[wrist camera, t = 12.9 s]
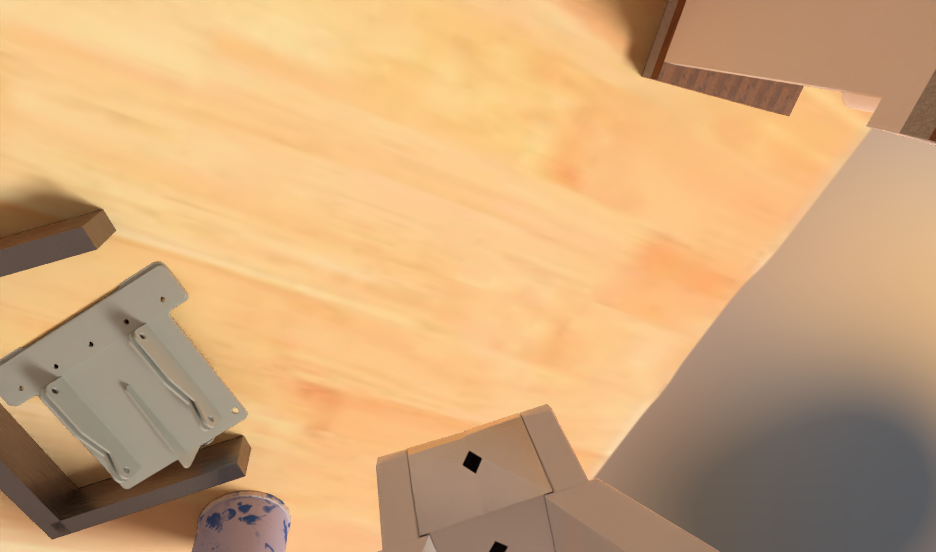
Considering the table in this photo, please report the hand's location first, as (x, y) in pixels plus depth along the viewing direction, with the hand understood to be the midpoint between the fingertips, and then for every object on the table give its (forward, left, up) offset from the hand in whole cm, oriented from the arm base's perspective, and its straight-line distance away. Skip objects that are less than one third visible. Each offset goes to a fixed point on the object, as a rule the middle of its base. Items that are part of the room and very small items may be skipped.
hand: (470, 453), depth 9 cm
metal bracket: (+13, -22, -29) cm, 39 cm away
